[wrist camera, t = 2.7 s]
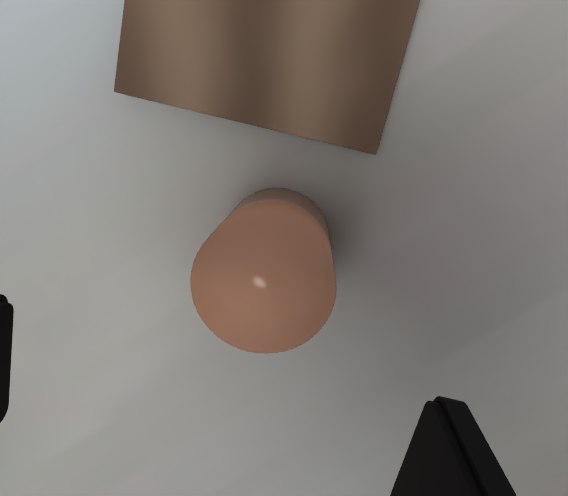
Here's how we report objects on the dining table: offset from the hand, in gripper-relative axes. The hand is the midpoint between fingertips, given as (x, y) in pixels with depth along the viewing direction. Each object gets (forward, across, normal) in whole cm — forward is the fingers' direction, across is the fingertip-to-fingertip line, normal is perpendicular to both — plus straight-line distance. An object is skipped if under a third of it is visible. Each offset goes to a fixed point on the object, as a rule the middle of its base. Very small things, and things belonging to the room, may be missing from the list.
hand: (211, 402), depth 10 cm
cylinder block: (+17, 0, +1) cm, 17 cm away
